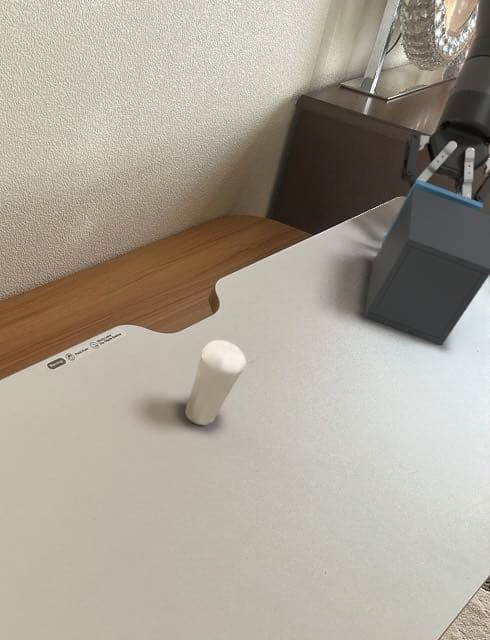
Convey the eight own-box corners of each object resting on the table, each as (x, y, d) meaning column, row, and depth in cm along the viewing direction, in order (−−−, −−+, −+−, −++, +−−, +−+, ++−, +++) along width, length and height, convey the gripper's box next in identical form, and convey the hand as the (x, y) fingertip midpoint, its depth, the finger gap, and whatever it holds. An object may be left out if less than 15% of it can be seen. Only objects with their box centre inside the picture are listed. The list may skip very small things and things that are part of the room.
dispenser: (372, 263, 123) (413, 186, 114) (444, 290, 122) (491, 215, 114) (364, 316, 114) (408, 238, 105) (441, 345, 114) (493, 269, 105)
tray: (383, 228, 128) (417, 165, 120) (444, 251, 127) (482, 189, 120) (375, 288, 117) (412, 223, 109) (442, 313, 117) (483, 250, 109)
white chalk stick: (214, 440, 93) (247, 368, 85) (171, 414, 94) (201, 341, 86) (232, 419, 96) (267, 347, 88) (190, 394, 97) (221, 321, 89)
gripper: (436, 72, 118) (388, 195, 119) (538, 109, 118) (488, 232, 119) (418, 96, 125) (372, 212, 127) (513, 131, 125) (467, 246, 126)
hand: (429, 221), depth 123 cm, fingers closed on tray, 5 cm apart
